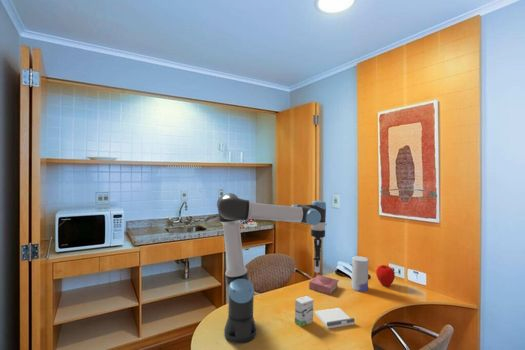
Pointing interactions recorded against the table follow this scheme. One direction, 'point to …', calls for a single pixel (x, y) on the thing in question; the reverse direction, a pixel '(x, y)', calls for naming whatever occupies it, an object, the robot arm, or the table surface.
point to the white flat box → (334, 318)
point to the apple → (385, 275)
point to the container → (360, 273)
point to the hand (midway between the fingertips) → (316, 267)
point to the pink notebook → (323, 284)
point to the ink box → (304, 310)
